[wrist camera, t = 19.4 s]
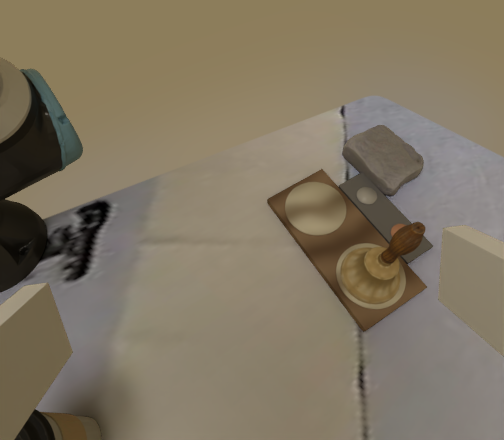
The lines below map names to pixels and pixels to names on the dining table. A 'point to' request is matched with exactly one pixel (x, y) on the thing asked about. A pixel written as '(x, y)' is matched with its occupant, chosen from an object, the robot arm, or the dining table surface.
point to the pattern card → (379, 211)
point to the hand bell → (379, 266)
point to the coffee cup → (59, 427)
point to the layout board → (337, 241)
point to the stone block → (383, 158)
